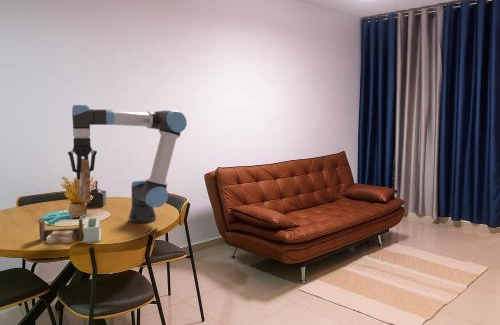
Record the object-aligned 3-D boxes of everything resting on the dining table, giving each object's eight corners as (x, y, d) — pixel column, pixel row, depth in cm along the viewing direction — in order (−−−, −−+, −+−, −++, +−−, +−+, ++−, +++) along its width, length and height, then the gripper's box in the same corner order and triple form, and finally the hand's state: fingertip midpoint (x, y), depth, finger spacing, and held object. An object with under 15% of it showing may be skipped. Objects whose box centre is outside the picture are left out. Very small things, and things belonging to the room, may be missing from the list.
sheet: (90, 202, 189) (88, 160, 187) (86, 202, 188) (84, 160, 186) (82, 196, 201) (81, 157, 199) (78, 197, 200) (76, 157, 198)
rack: (82, 235, 199) (82, 215, 198) (81, 239, 192) (81, 219, 191) (42, 237, 193) (42, 217, 192) (40, 242, 186) (39, 222, 185)
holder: (101, 230, 208) (101, 217, 207) (100, 241, 190) (100, 227, 189) (84, 231, 206) (84, 218, 205) (82, 242, 187) (81, 228, 187)
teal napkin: (85, 219, 231) (68, 213, 244) (85, 215, 231) (68, 209, 244) (50, 225, 216) (34, 219, 229) (50, 221, 216) (34, 215, 228)
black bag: (89, 204, 268) (89, 177, 266) (106, 203, 270) (106, 177, 267) (82, 209, 253) (82, 181, 251) (100, 209, 254) (100, 181, 252)
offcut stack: (76, 239, 193) (75, 230, 193) (73, 242, 189) (73, 233, 188) (49, 240, 191) (49, 231, 191) (46, 243, 186) (46, 234, 186)
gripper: (96, 136, 198) (97, 183, 201) (63, 137, 190) (65, 186, 193) (100, 137, 192) (101, 185, 195) (66, 138, 184) (68, 188, 187)
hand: (83, 185), depth 194 cm, fingers closed on sheet, 2 cm apart
